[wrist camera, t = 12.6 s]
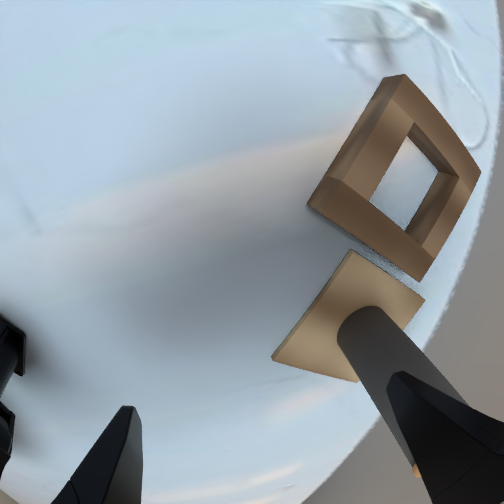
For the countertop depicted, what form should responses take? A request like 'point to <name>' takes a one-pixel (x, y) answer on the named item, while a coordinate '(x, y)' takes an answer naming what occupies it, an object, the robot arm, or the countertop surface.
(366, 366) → the plug
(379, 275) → the cork mat
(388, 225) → the wooden square frame
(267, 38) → the countertop surface
